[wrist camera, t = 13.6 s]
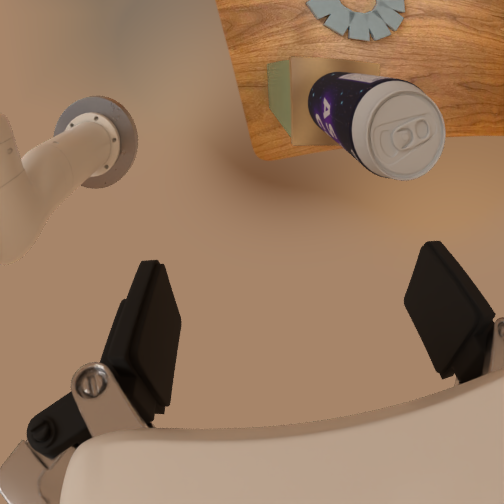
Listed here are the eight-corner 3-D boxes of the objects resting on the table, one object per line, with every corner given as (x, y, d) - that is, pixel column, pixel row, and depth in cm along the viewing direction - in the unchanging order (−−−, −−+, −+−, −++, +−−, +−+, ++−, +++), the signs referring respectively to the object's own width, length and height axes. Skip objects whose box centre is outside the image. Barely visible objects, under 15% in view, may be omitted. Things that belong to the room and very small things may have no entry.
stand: (267, 109, 44) (292, 146, 24) (265, 62, 39) (290, 56, 20) (316, 108, 44) (376, 147, 24) (315, 63, 39) (380, 63, 19)
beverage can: (293, 87, 21) (339, 106, 11) (351, 61, 20) (433, 68, 10) (323, 143, 24) (380, 204, 14) (376, 118, 23) (459, 163, 13)
